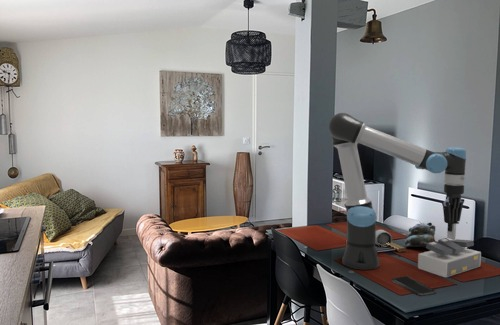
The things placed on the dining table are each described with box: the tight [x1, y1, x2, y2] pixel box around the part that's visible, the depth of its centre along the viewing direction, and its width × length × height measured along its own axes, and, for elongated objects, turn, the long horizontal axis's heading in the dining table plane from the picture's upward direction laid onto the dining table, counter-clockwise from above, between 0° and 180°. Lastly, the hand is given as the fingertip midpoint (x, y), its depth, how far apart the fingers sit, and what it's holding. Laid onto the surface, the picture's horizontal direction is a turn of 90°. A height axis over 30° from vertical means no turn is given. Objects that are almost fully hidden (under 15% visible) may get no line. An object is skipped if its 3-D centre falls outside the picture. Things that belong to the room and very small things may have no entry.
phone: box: [391, 275, 437, 297], centre depth 140 cm, size 8×1×15 cm
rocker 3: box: [449, 238, 475, 248], centre depth 163 cm, size 8×5×2 cm, turn 31°
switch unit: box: [417, 247, 482, 278], centre depth 160 cm, size 24×12×8 cm, turn 121°
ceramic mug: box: [375, 229, 393, 246], centre depth 191 cm, size 11×8×8 cm
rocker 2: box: [437, 237, 463, 254], centre depth 159 cm, size 8×5×2 cm, turn 31°
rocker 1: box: [425, 241, 452, 256], centre depth 156 cm, size 8×5×2 cm, turn 31°
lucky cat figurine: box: [404, 222, 436, 249], centre depth 188 cm, size 15×12×14 cm
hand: (451, 238), depth 167 cm, fingers closed
